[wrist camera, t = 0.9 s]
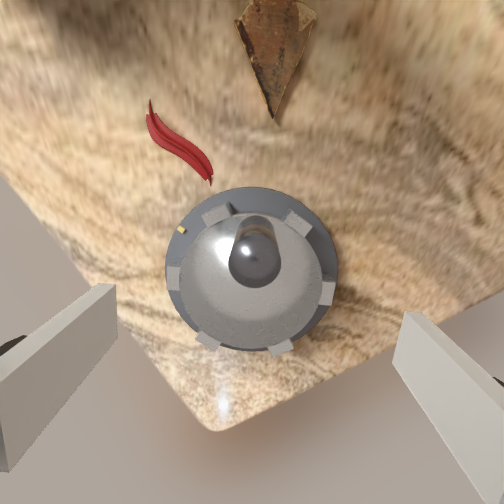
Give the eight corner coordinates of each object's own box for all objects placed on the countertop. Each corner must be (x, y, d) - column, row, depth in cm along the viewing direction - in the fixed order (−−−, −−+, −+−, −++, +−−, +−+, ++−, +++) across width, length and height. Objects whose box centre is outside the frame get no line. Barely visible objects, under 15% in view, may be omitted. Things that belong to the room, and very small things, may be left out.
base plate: (171, 178, 36) (165, 179, 34) (348, 196, 37) (353, 198, 34) (167, 334, 42) (162, 344, 40) (320, 349, 42) (323, 359, 40)
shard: (272, 121, 35) (272, 119, 33) (210, 89, 34) (207, 85, 32) (318, 19, 32) (321, 11, 30) (251, -18, 31) (251, -28, 30)
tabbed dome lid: (176, 195, 35) (130, 214, 22) (340, 212, 35) (386, 239, 22) (172, 333, 40) (132, 411, 27) (316, 347, 40) (342, 431, 27)
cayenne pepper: (134, 105, 35) (128, 102, 33) (169, 85, 34) (165, 80, 32) (188, 201, 38) (184, 203, 36) (221, 183, 37) (219, 184, 35)
